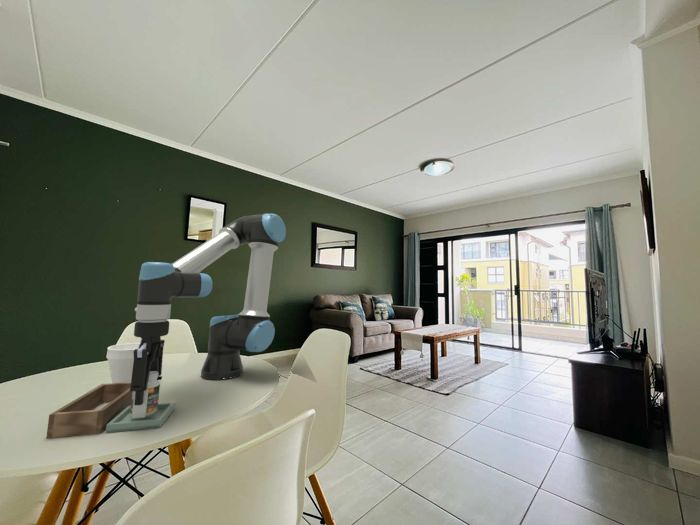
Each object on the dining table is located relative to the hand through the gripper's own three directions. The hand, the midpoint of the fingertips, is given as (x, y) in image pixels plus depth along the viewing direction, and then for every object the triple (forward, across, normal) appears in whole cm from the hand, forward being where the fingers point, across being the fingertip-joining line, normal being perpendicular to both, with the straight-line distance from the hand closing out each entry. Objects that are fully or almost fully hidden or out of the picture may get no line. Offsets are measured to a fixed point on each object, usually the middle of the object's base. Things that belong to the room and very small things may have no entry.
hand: (144, 411), depth 72 cm
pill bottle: (+1, 0, 0) cm, 1 cm away
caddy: (+2, -5, -12) cm, 13 cm away
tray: (+2, 0, 0) cm, 2 cm away
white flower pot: (+2, -27, -14) cm, 31 cm away
